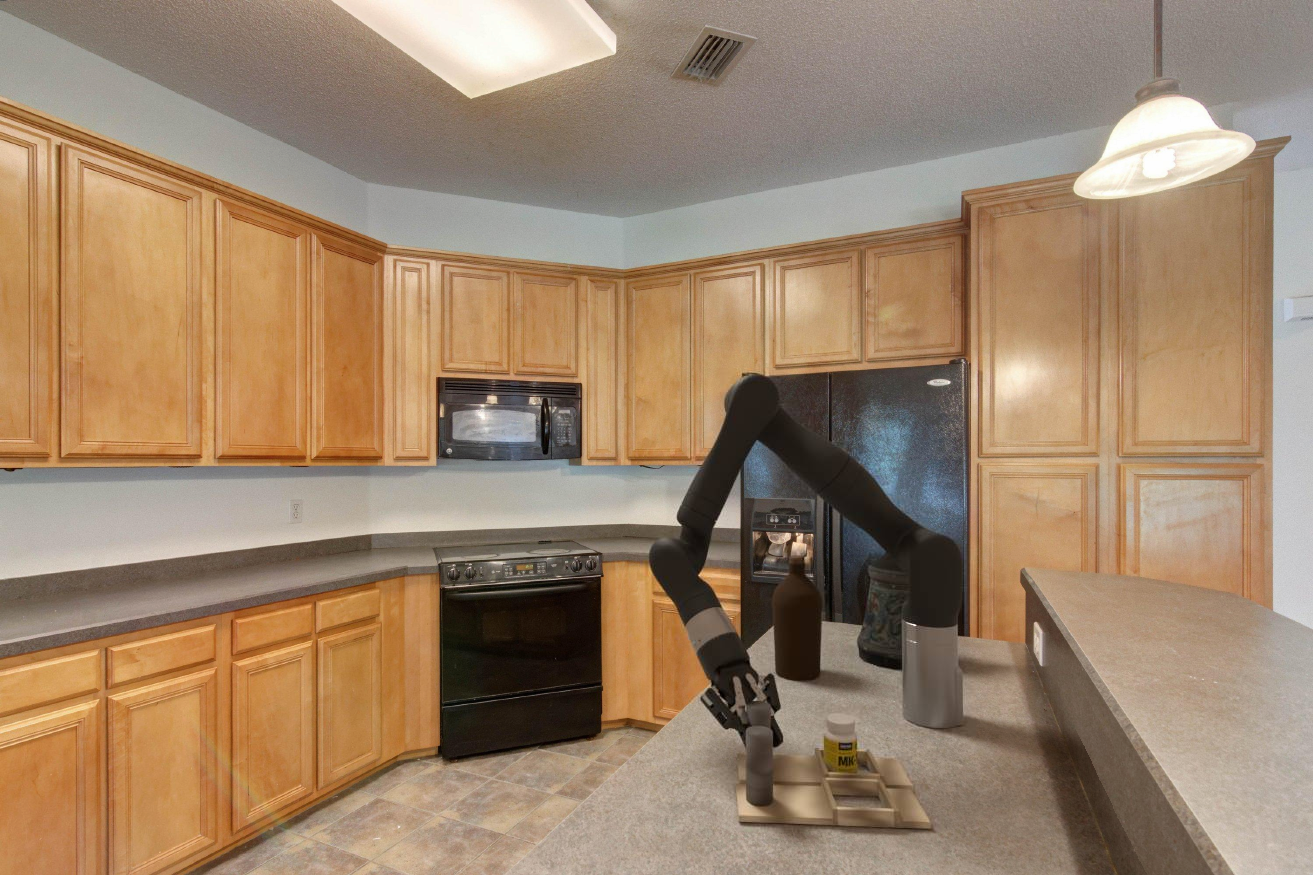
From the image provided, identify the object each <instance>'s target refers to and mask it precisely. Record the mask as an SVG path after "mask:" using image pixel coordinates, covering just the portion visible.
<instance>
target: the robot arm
mask: <svg viewBox="0 0 1313 875" xmlns="http://www.w3.org/2000/svg"><path fill="white" fill-rule="evenodd" d="M723 400H724V402H723V406H724V411H725V417H724V419H723V423H722V425H721V427H720V430H719V433H718V435H717V438H716V439H715V441H714V443H713V445H712V448H711V449H710V451H709V452H708V454H707V456H706V457H705V459H704V460H703V462H702V464H701V466H700V467H699V469H698V471H697V472H696V473H695V476H694V477H693V480H692V482H691V483H690V485H689V487H688V489H687V491H686V494H685V496H684V498H683V500H682V501H681V503H680V506H679V508H678V510H677V513H676V521H677V522H678V524H680V525H681V530H680V531H681V532H680V536H679V539H677V538H674V537H672V536H671V537H670V536H664V537H661V538H658V539H657V540H655V541H654V542H653V543H652V545H651V547H650V550H649V553H648V564H649V568H650V569H651V572H652V574H653V576H654V578H655V579H656V581H657V583H658V584H659V585H660V587H661V588H662V591H664V592H665V594H666V595H667V596H668V598H669V600H670V601H671V602H672V603H673V604H674V606H675V608H676V610H677V613H678V615H679V618H680V620H681V621H682V623H683V626H684V628H685V630H686V633H687V637H688V640H689V642H690V645H691V647H692V649H693V651H694V653H695V655H696V658H697V660H698V662H699V664H700V666H701V668H702V670H703V673H704V675H705V677H706V679H707V680H708V681H710V687H708V688H707V689H706V690H705V692H703V693H702V695H701V696H700V697H699V699H700V701H701V703H702V704H703V705H704V707H705V708H706V709H707V710H708V711H709V712H710V714H711V715H712V716H713V717H714V719H715V720H716V721H717V723H719V725H720V726H721V727H722V729H724V730H727V731H728V730H729V729H730V730H731V729H732V730H735V731H736V732H737V733H738V735H739V737H740V740H741V742H742V744H743V746H744V748H745V749H746V729H747V728H749V727H752V725H751V724H748V718H747V714H746V704H747V703H748V702H751V701H763V702H767V703H769V704H770V705H771V730H772V731H773V749H775V748H779V747H780V746H781V745H782V744H783V743H784V735H783V731H782V730H781V728H780V726H779V723H778V722H777V720H776V718H775V715H776V713H778V712H779V711H780V710H781V708H782V706H781V705H782V704H781V700H780V697H779V693H778V687H777V683H776V678H775V675H774V674H773V673H771V672H770V673H769V672H768V674H766V675H762V674H759V673H758V672H757V670H755V669H754V668H753V666H752V665H751V658H750V654H749V652H748V651H747V648H746V647H745V645H744V643H743V640H742V639H741V637H740V634H738V632H737V629H736V627H735V626H734V624H733V622H732V620H731V618H730V617H729V616H728V614H727V612H726V611H725V609H724V608H723V606H722V604H721V602H720V600H719V598H718V596H717V595H716V592H715V590H714V589H713V588H712V586H711V585H710V584H709V583H708V582H706V581H705V580H703V579H702V578H701V576H699V575H700V574H701V572H702V570H703V569H704V568H705V567H704V566H705V564H706V562H707V559H708V558H707V557H708V553H709V550H710V549H709V548H710V545H711V541H712V535H713V529H714V528H715V525H716V524H717V521H718V520H719V517H720V515H721V513H722V511H723V509H724V507H725V505H726V502H727V500H728V499H729V496H730V493H731V492H732V490H733V486H734V485H735V483H736V480H737V478H738V475H739V474H740V472H741V469H742V467H743V465H744V464H745V461H746V459H747V458H748V456H749V454H750V452H751V450H752V449H753V447H754V445H755V444H756V442H757V441H758V442H759V443H760V444H762V445H764V447H766V448H767V449H769V450H770V451H771V452H772V453H773V454H775V456H777V457H778V458H779V459H780V461H781V462H783V463H784V464H785V465H786V467H788V469H790V470H791V472H793V473H794V475H796V476H797V477H798V478H799V480H801V481H802V482H803V483H804V484H805V485H806V486H807V487H808V488H809V489H810V490H811V491H812V492H813V493H815V494H816V495H817V496H818V497H819V498H820V499H822V500H823V501H824V503H826V504H827V505H829V507H831V508H832V509H834V510H835V511H836V512H837V513H839V514H840V515H841V516H842V517H844V518H845V519H847V520H848V521H849V522H850V523H852V524H854V526H857V527H858V528H859V529H861V530H862V531H864V532H865V533H866V534H867V535H869V537H871V539H873V540H874V541H875V542H876V544H878V546H880V547H881V549H882V550H884V551H885V553H886V552H887V553H888V555H889V556H890V557H891V558H892V559H893V560H894V561H895V562H896V563H897V565H898V566H899V567H900V568H901V569H902V570H903V571H904V572H905V573H906V574H908V575H909V596H908V599H907V601H905V602H904V603H903V605H902V670H901V672H902V674H901V676H902V677H901V678H902V679H901V681H902V682H901V684H902V685H901V686H902V688H901V689H902V690H901V691H902V693H901V694H902V702H901V703H902V704H901V705H902V716H903V717H904V718H905V719H906V720H907V721H909V722H911V723H913V724H916V725H918V726H923V727H925V728H926V727H927V728H931V729H933V728H934V729H948V728H954V727H956V726H964V686H963V685H964V680H963V675H964V674H963V670H962V668H961V667H959V642H958V641H959V637H958V633H959V632H958V631H959V630H958V629H959V628H958V623H959V620H958V616H959V613H960V611H961V608H962V603H963V587H964V586H963V585H964V584H963V582H964V563H963V555H962V551H961V549H960V547H959V545H958V544H957V542H956V541H955V540H954V539H952V538H951V537H949V536H947V535H945V534H942V533H939V532H935V531H933V530H930V529H928V528H926V527H925V526H923V525H921V524H920V523H919V522H917V521H916V520H914V519H912V518H911V517H910V516H909V515H908V514H907V513H905V512H903V511H902V510H901V509H900V508H899V507H898V506H897V505H895V503H893V502H892V500H891V499H890V498H889V497H888V495H887V493H885V492H886V491H884V490H883V488H882V486H881V485H880V484H879V482H877V480H876V479H875V477H874V476H873V475H872V474H871V473H870V472H869V471H868V470H867V469H866V468H865V467H864V466H863V465H861V464H860V463H859V462H858V461H857V460H856V459H855V458H853V456H851V455H850V454H849V453H848V452H846V451H845V450H844V449H843V448H842V447H840V446H838V445H837V444H835V443H834V442H832V441H830V440H829V439H827V438H825V437H823V436H822V435H819V434H818V433H816V432H814V431H812V430H810V429H808V428H807V427H805V426H804V425H802V424H801V423H800V422H798V421H797V420H796V419H795V418H793V417H792V416H791V415H790V414H789V413H788V412H787V411H786V410H785V409H784V408H783V406H781V405H780V403H781V394H780V391H779V389H778V386H777V385H776V383H775V382H774V381H773V380H772V379H771V378H770V377H768V376H766V375H763V374H759V373H756V374H753V373H752V374H748V375H746V376H743V377H741V378H739V379H738V380H736V382H734V384H732V386H730V387H729V388H728V390H727V392H726V393H725V396H724V399H723ZM723 700H724V701H723Z"/></svg>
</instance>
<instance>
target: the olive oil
mask: <svg viewBox="0 0 1313 875" xmlns="http://www.w3.org/2000/svg"><path fill="white" fill-rule="evenodd" d="M805 559H806V558H805V556H804V555H797V554H796V555H790V556H789V561H788V574H787V576H786V577H785V578H783V580H782V581H781V582H780V583H779V584H778V585H777V586H776V588H775V589H774V591H773V594H772V600H771V608H772V623H773V625H772V626H773V642H774V665H775V666H774V668H775V669H774V670H775V673H776V674H777V676H779V677H781V678H782V679H783V678H784V679H787V680H790V681H798V682H799V681H801V682H802V681H806V682H807V681H812V680H816V679H818V678H819V677H820V676H821V658H822V657H821V653H822V634H823V633H822V630H823V629H822V628H823V611H824V610H823V609H824V602H823V599H822V594H821V591H820V590H819V589H818V587H817V586H816V585H815V583H813V581H812V580H810V578H809V577H808V576H807V575H806V563H805Z"/></svg>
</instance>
